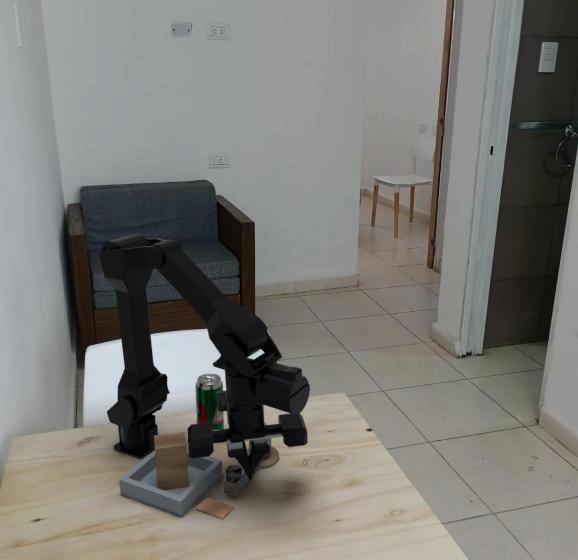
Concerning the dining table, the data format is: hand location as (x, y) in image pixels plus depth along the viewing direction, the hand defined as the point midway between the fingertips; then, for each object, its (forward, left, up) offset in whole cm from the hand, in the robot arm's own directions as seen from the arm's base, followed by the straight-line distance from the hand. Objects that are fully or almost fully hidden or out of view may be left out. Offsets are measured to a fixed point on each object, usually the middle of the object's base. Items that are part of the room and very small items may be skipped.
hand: (249, 478), depth 102 cm
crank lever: (-2, +4, -2) cm, 5 cm away
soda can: (-15, +11, -3) cm, 19 cm away
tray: (-12, -5, -2) cm, 13 cm away
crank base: (-3, +2, -2) cm, 4 cm away
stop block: (-12, -4, -2) cm, 13 cm away
